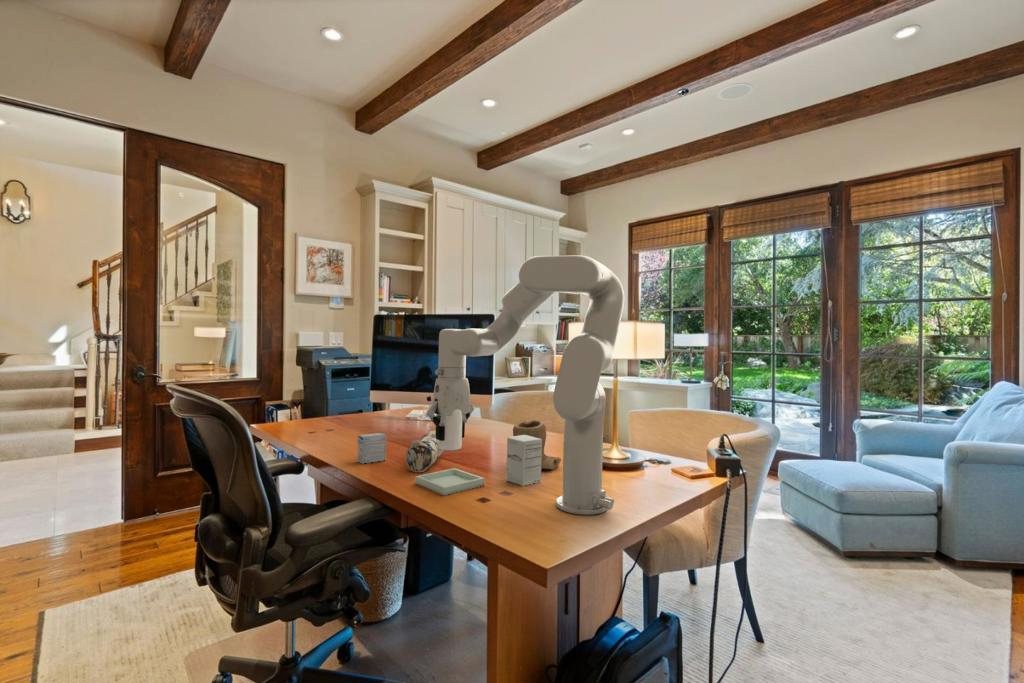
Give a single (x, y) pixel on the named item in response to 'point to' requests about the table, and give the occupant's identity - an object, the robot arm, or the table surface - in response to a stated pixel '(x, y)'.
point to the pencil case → (423, 453)
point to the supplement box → (524, 459)
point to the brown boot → (538, 431)
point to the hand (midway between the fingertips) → (450, 437)
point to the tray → (449, 481)
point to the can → (452, 432)
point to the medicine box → (371, 448)
